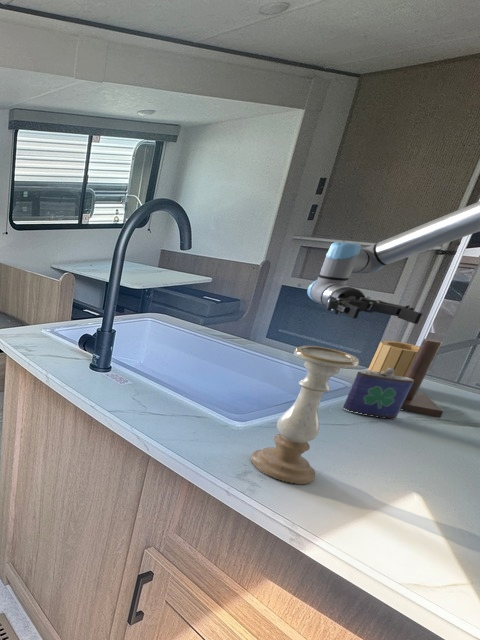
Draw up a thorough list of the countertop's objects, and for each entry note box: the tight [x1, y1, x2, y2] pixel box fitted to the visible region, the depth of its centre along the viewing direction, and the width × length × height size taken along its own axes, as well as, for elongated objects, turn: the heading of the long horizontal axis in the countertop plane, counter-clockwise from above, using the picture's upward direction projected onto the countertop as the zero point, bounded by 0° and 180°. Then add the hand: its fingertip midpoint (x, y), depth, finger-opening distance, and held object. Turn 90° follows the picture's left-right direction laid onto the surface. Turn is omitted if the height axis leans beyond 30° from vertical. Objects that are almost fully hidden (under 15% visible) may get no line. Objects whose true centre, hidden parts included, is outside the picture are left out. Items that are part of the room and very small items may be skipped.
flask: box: [342, 367, 414, 419], centre depth 89 cm, size 9×3×11 cm, turn 68°
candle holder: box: [250, 345, 360, 485], centre depth 66 cm, size 9×9×20 cm
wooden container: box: [367, 340, 420, 377], centre depth 106 cm, size 8×8×10 cm
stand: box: [400, 338, 444, 418], centre depth 94 cm, size 10×10×15 cm
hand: (387, 315), depth 111 cm, fingers open, 13 cm apart
